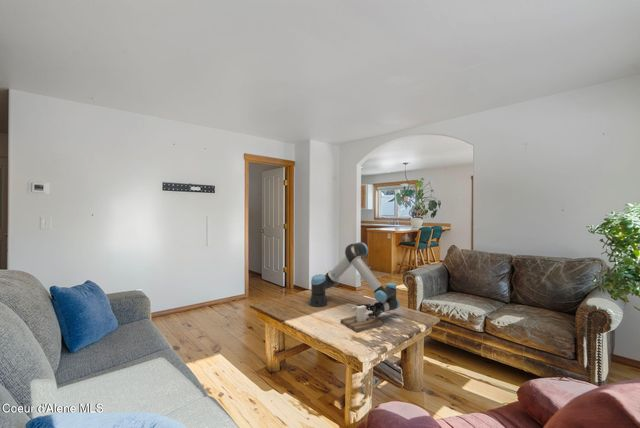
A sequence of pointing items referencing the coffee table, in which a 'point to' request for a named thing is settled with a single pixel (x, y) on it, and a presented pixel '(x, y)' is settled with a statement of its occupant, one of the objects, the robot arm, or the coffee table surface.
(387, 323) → the coffee table surface
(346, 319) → the brown slotted base plate
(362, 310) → the tall cream pillar
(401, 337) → the coffee table surface
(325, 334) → the coffee table surface
